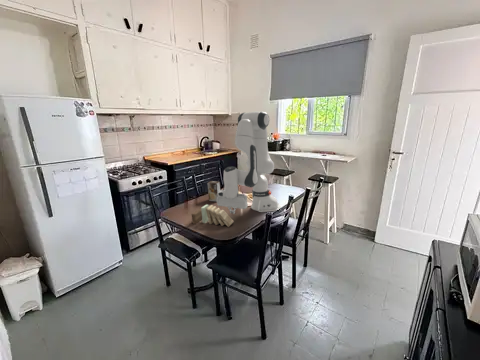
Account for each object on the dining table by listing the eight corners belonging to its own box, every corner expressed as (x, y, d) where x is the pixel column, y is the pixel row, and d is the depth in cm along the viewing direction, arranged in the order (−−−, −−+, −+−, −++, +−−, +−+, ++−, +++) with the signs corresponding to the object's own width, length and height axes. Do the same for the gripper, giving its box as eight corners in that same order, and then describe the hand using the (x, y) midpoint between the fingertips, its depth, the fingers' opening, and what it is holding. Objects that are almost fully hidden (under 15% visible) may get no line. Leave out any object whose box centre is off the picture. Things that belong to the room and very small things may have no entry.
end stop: (205, 216, 165) (204, 207, 163) (196, 224, 155) (195, 214, 153) (201, 216, 166) (201, 207, 165) (192, 223, 156) (191, 213, 154)
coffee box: (221, 199, 199) (220, 181, 195) (218, 202, 193) (217, 183, 189) (212, 198, 202) (210, 180, 198) (208, 201, 196) (207, 182, 192)
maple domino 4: (234, 221, 153) (222, 209, 154) (230, 225, 148) (218, 212, 149) (232, 223, 154) (221, 210, 155) (228, 227, 149) (216, 214, 150)
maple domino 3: (228, 220, 155) (218, 207, 155) (224, 224, 150) (214, 210, 150) (226, 222, 156) (216, 208, 156) (221, 226, 151) (212, 212, 151)
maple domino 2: (222, 220, 157) (215, 205, 156) (217, 224, 151) (210, 209, 150) (219, 221, 158) (213, 206, 157) (215, 225, 152) (208, 210, 151)
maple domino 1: (216, 220, 159) (212, 205, 156) (211, 224, 153) (208, 208, 151) (213, 220, 159) (210, 205, 157) (209, 224, 154) (205, 208, 152)
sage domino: (209, 219, 161) (208, 204, 158) (205, 223, 155) (203, 208, 152) (207, 219, 161) (205, 204, 158) (202, 222, 156) (201, 207, 153)
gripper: (248, 192, 143) (249, 213, 147) (219, 189, 151) (220, 209, 155) (244, 196, 138) (245, 217, 142) (214, 192, 146) (216, 213, 150)
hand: (232, 213), depth 148 cm, fingers closed
